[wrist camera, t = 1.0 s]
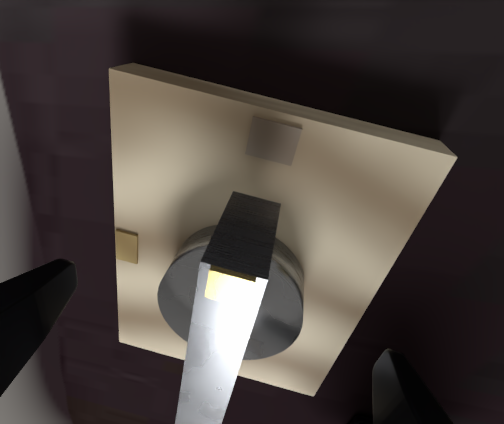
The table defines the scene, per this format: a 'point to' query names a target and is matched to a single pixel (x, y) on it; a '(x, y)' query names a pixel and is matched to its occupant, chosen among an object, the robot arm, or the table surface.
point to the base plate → (266, 187)
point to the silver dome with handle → (230, 302)
